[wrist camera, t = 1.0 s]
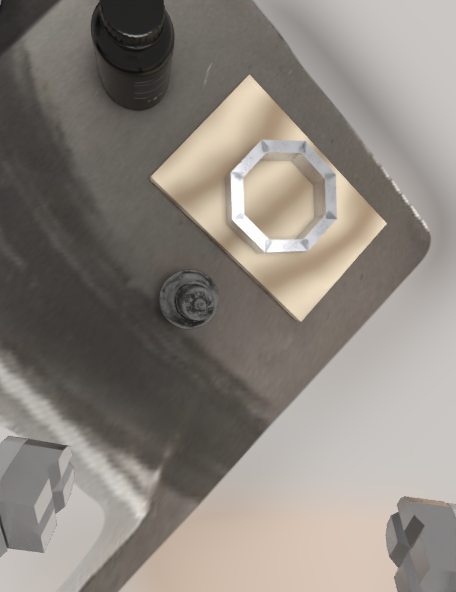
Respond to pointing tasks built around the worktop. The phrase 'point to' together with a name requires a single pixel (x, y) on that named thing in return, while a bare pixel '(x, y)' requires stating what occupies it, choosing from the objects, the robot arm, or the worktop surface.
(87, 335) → the worktop surface
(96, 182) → the worktop surface
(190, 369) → the worktop surface
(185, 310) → the dark grey turned piece
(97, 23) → the supplement bottle
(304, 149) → the metal collar
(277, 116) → the carrier plate
